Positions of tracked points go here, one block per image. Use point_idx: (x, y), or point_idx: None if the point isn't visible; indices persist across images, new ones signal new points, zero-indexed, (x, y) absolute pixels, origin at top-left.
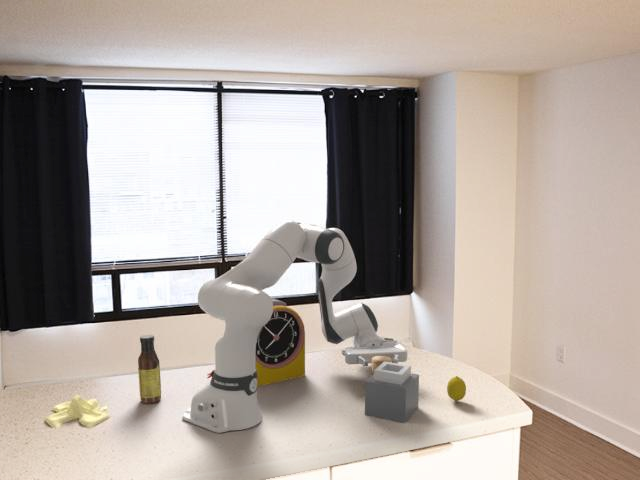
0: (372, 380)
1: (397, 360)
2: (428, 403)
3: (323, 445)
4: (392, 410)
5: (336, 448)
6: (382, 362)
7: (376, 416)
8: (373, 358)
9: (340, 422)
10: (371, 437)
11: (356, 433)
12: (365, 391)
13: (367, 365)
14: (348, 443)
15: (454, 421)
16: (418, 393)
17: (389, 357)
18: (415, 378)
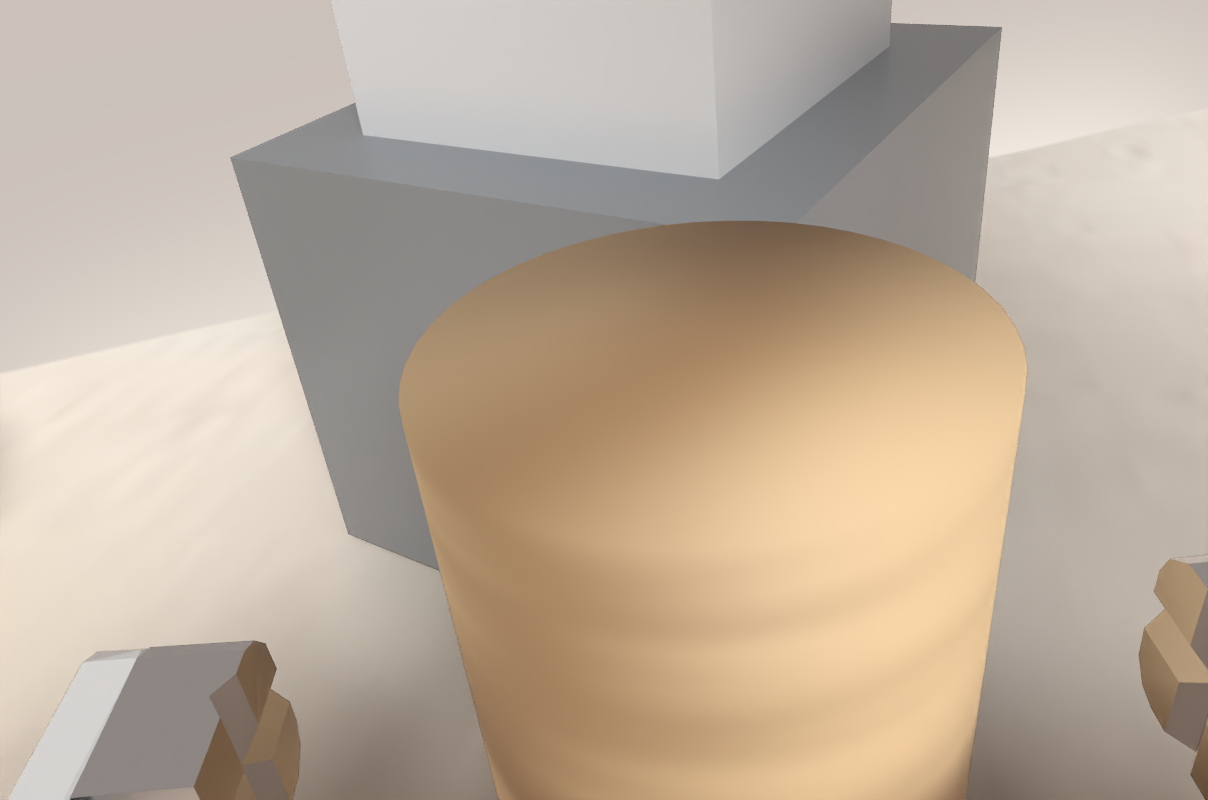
0: (909, 41)
1: (122, 656)
2: (168, 616)
3: (1182, 145)
4: None
5: (1086, 137)
6: (714, 223)
7: None
8: (974, 362)
9: (1175, 307)
10: None
11: (991, 224)
12: (984, 154)
13: (1162, 653)
14: (1024, 164)
15: (200, 354)
16: (306, 393)
17: (411, 439)
18: (347, 109)
